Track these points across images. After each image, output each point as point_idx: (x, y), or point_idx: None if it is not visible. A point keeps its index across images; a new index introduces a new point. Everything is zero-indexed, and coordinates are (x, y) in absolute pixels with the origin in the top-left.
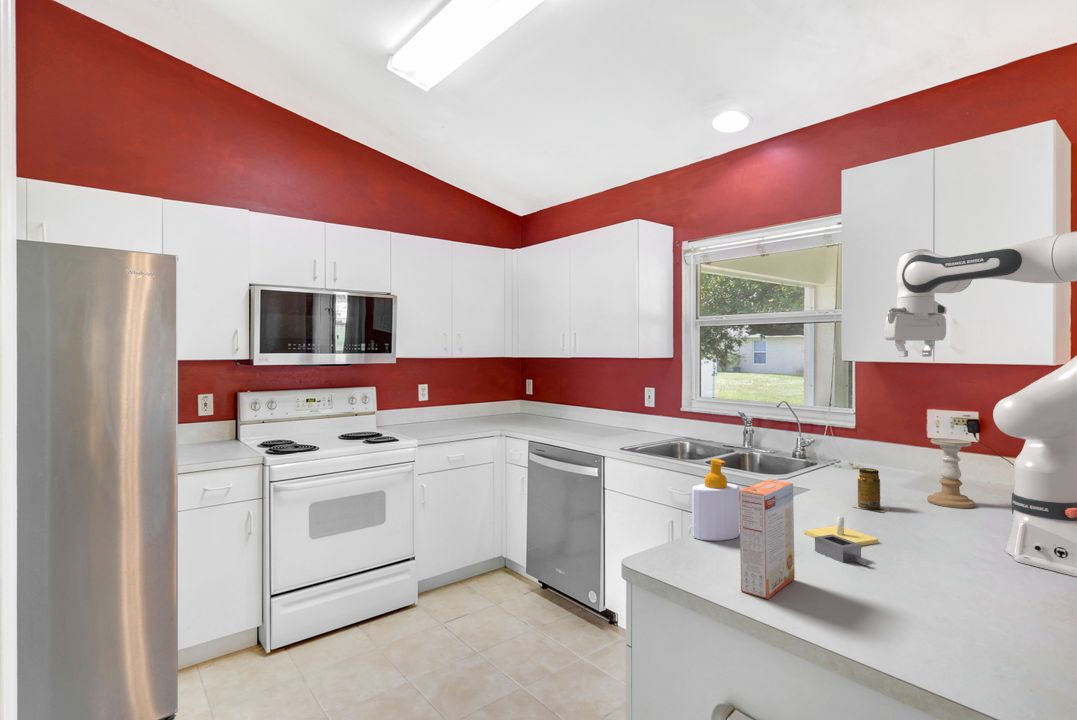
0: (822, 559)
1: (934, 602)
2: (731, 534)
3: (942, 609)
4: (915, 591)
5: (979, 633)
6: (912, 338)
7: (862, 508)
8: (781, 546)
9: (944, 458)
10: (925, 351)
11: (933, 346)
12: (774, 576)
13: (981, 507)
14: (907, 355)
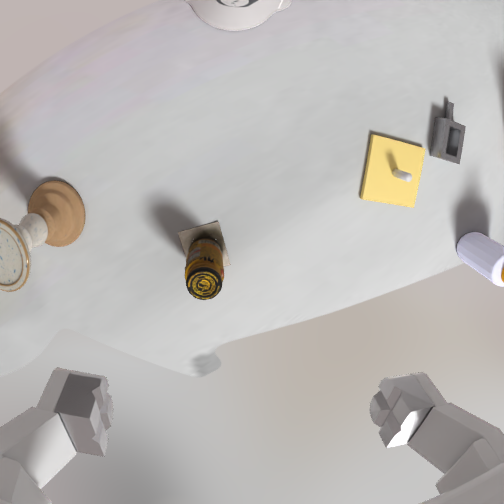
0: None
1: (463, 36)
2: (477, 233)
3: (467, 30)
4: (458, 52)
5: (476, 7)
6: (468, 497)
7: (223, 252)
8: None
9: (30, 244)
10: (93, 429)
11: (2, 431)
12: None
13: (37, 178)
14: (395, 378)
